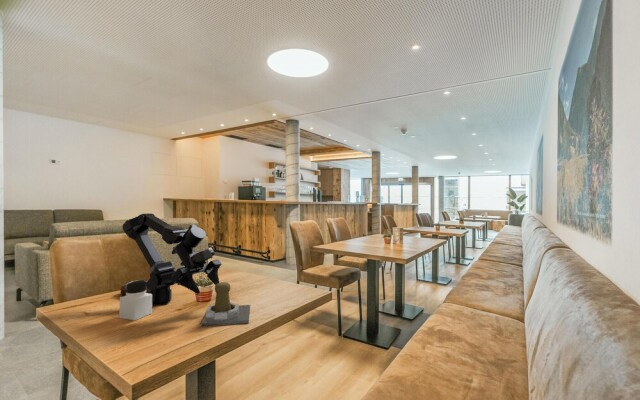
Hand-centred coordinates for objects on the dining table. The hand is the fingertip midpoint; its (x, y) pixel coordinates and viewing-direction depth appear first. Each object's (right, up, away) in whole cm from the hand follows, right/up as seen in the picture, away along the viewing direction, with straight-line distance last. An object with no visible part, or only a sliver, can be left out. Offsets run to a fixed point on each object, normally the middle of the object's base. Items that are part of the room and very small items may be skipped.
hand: (209, 289), depth 108 cm
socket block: (+7, -9, -2) cm, 11 cm away
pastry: (-40, -9, +23) cm, 47 cm away
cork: (+6, -8, -3) cm, 10 cm away
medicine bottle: (-25, -9, -2) cm, 27 cm away
